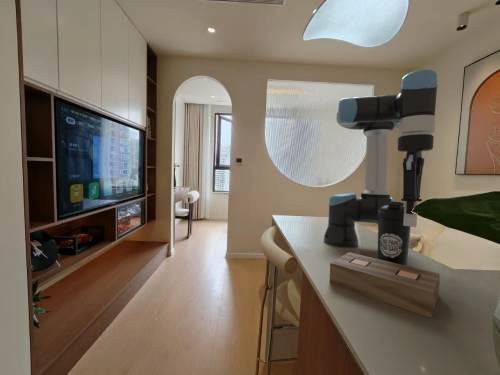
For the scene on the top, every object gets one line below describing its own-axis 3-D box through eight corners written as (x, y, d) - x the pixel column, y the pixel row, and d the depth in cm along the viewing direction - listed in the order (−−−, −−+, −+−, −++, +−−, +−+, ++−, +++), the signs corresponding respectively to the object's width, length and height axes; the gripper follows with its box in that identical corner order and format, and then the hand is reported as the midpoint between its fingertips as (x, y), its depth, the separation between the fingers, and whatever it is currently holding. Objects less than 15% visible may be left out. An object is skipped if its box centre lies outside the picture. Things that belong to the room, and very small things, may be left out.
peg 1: (354, 277, 73) (355, 258, 73) (368, 281, 71) (369, 262, 70) (349, 281, 70) (350, 262, 70) (363, 285, 68) (364, 266, 67)
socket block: (347, 269, 80) (348, 252, 79) (438, 295, 63) (439, 273, 63) (329, 282, 70) (330, 262, 69) (431, 318, 53) (433, 292, 53)
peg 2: (399, 290, 65) (400, 270, 65) (417, 296, 62) (418, 274, 62) (396, 296, 62) (397, 274, 62) (414, 301, 59) (415, 279, 59)
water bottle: (370, 269, 80) (374, 202, 79) (379, 261, 88) (382, 200, 87) (406, 278, 74) (410, 205, 72) (411, 269, 81) (415, 202, 80)
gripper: (403, 139, 68) (399, 220, 70) (392, 133, 59) (387, 227, 60) (436, 137, 63) (431, 224, 64) (430, 130, 53) (423, 232, 55)
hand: (409, 225), depth 62 cm, fingers closed
